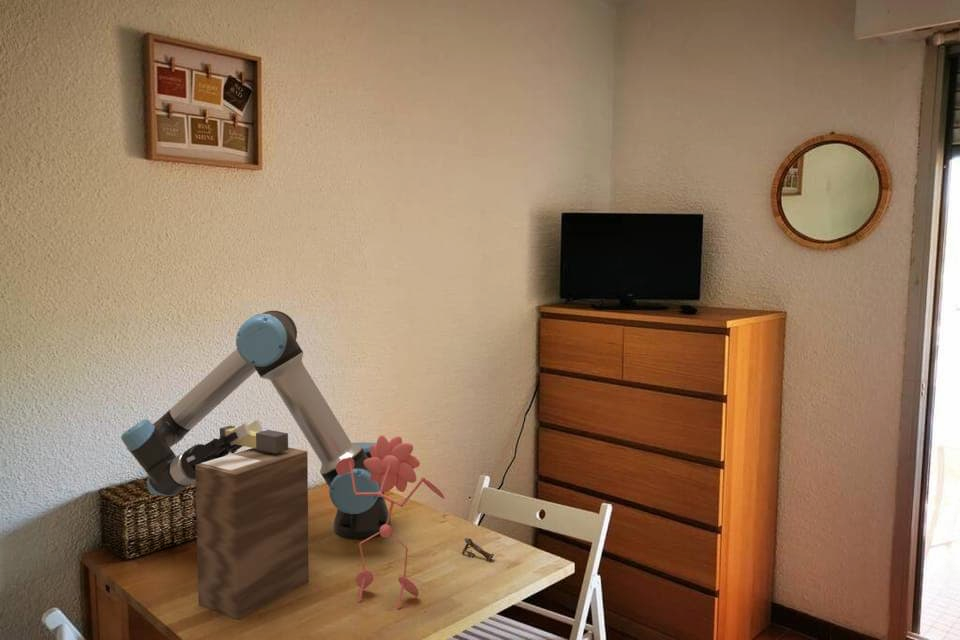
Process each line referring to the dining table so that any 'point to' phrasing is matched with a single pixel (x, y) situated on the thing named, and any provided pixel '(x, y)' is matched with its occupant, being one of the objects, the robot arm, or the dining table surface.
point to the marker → (261, 440)
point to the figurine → (391, 470)
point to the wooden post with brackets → (476, 549)
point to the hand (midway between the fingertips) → (253, 427)
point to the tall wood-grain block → (251, 529)
